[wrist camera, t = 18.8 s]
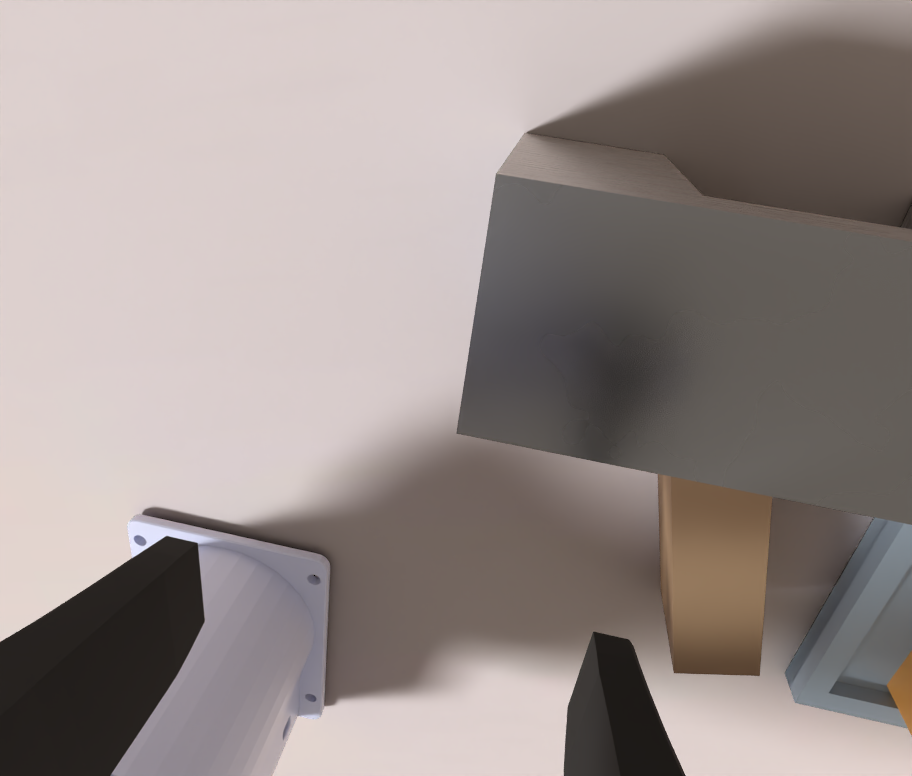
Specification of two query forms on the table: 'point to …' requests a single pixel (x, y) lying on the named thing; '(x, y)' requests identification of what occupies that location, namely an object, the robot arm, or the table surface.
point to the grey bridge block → (692, 332)
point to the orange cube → (903, 690)
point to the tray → (861, 631)
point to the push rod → (713, 575)
